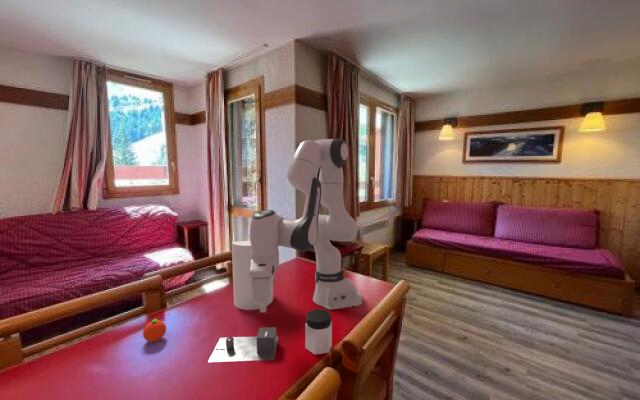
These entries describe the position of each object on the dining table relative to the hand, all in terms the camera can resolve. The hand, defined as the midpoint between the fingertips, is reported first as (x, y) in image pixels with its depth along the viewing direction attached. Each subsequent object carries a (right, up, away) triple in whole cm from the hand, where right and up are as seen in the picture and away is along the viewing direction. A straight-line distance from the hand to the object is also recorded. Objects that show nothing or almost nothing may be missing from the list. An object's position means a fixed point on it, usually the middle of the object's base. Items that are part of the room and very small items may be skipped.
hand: (265, 303), depth 87 cm
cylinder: (-13, -12, +36) cm, 40 cm away
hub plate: (-7, -16, +2) cm, 18 cm away
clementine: (-40, -16, +8) cm, 44 cm away
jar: (+17, -16, +3) cm, 24 cm away
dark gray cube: (0, -15, +2) cm, 15 cm away
